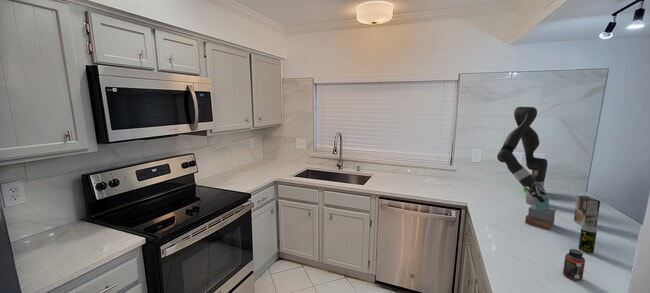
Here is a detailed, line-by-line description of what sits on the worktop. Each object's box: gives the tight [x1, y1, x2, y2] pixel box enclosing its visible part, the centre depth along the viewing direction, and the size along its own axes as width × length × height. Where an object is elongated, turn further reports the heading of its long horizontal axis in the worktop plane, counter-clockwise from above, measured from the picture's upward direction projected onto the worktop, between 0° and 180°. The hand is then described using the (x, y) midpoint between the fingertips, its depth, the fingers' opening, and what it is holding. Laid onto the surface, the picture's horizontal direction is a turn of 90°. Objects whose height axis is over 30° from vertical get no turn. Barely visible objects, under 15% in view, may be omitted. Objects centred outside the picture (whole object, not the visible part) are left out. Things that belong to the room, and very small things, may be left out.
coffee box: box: [573, 195, 601, 229], centre depth 158 cm, size 9×6×16 cm
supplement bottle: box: [562, 248, 586, 281], centre depth 110 cm, size 6×6×11 cm
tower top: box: [527, 204, 556, 221], centre depth 159 cm, size 10×10×5 cm
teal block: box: [535, 194, 551, 211], centre depth 158 cm, size 5×5×8 cm
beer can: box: [578, 225, 598, 254], centre depth 129 cm, size 5×5×12 cm
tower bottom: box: [524, 214, 556, 231], centre depth 160 cm, size 11×11×5 cm
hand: (545, 200), depth 156 cm, fingers open, 8 cm apart
